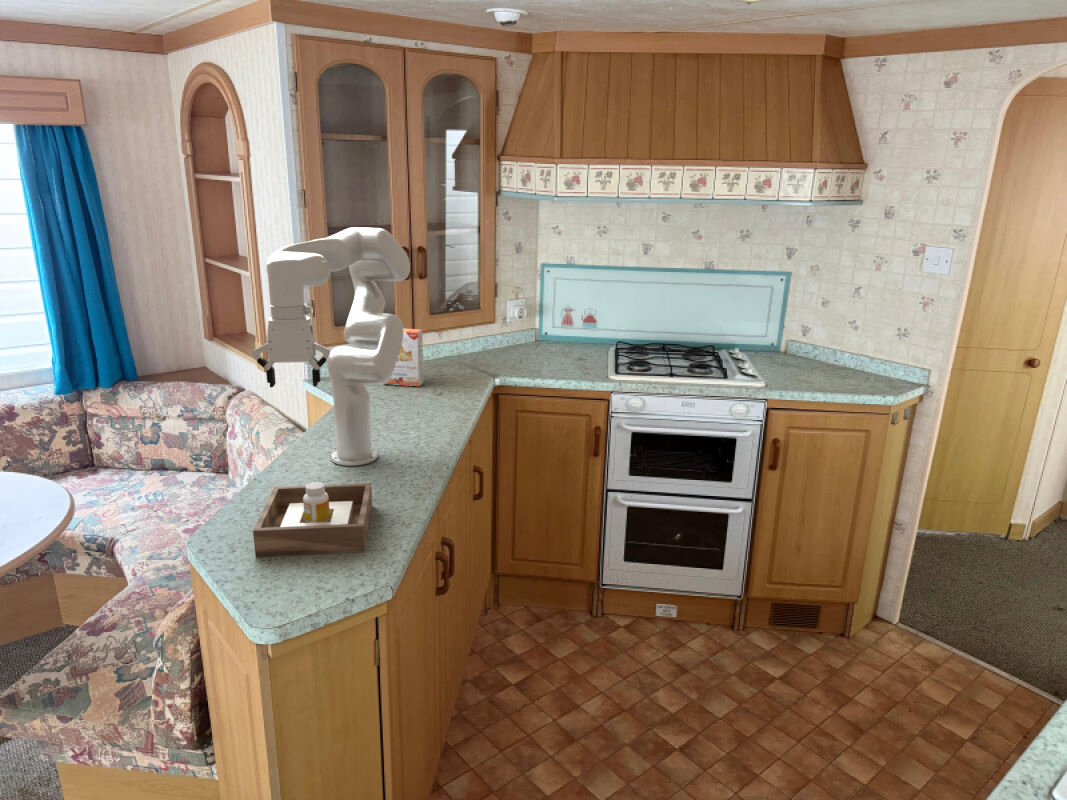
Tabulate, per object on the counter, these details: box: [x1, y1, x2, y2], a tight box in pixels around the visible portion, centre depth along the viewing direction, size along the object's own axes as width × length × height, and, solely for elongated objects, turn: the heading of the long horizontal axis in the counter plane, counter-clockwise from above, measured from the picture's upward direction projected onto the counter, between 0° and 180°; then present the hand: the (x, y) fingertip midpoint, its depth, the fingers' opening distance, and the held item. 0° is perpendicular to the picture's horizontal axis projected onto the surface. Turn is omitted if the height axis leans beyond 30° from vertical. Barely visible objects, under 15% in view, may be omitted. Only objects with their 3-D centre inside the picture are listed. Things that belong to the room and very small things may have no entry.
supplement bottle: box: [303, 481, 330, 523], centre depth 163 cm, size 5×5×10 cm
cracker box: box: [384, 327, 424, 386], centre depth 274 cm, size 14×6×21 cm, turn 81°
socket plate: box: [280, 501, 353, 527], centre depth 164 cm, size 14×14×2 cm
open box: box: [252, 483, 373, 558], centre depth 164 cm, size 22×22×6 cm
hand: (294, 385), depth 173 cm, fingers open, 9 cm apart
